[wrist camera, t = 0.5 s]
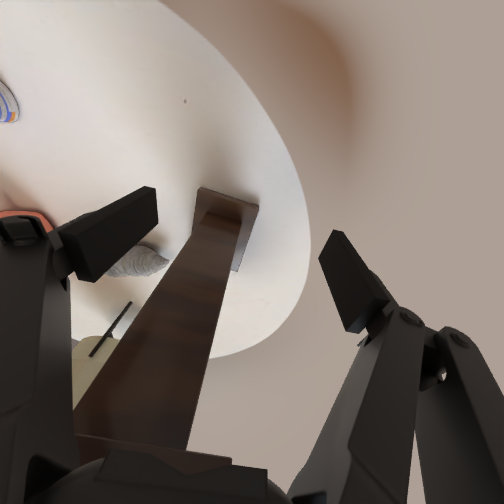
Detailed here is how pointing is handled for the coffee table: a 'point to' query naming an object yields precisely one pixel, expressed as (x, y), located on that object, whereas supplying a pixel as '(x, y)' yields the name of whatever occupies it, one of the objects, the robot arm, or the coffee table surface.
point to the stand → (168, 348)
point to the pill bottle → (7, 106)
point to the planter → (91, 358)
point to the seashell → (138, 263)
